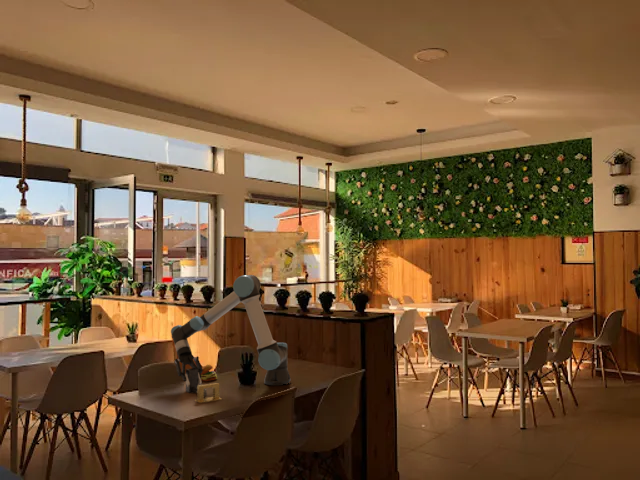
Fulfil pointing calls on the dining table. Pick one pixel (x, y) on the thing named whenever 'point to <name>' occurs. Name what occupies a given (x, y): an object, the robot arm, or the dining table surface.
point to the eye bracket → (201, 397)
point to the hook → (193, 381)
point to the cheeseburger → (208, 373)
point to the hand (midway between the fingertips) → (194, 384)
